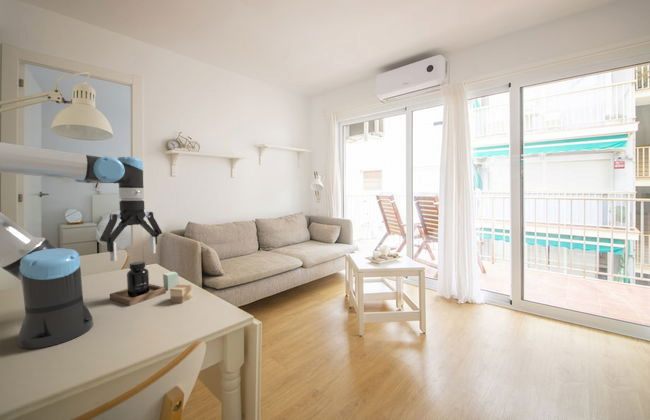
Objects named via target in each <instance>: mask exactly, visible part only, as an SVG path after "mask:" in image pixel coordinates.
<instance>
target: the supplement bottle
mask: <svg viewBox="0 0 650 420" xmlns="http://www.w3.org/2000/svg"><path fill="white" fill-rule="evenodd" d="M149 273H150V272H149V270H148V269H147V268H146V261H135V262H130V263H129V270H128V271H127V273H126V283H127V285H126V286H127V288H126V289H128V296H130V297H137V296H140V295H143V294H146V293H149V284H150V275H149Z"/></svg>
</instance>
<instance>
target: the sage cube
mask: <svg viewBox="0 0 650 420" xmlns="http://www.w3.org/2000/svg"><path fill="white" fill-rule="evenodd" d="M162 279H163V287H164V288H166V291H170V288H172V287H174V286H177V285H179V274H178V272H176V271H169V272H165V273H162Z"/></svg>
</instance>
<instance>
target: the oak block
mask: <svg viewBox="0 0 650 420" xmlns="http://www.w3.org/2000/svg"><path fill="white" fill-rule="evenodd" d="M169 291H170V292H169V294H170V302H171V303H180V304H184V303H185V302H187V301H189V300H190V298H191V299H192V298H193V285H192V284H191V283H190V284H189V283H187V284H186V283H178V285H177V286H174V287H172V288H170V290H169Z"/></svg>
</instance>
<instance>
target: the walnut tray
mask: <svg viewBox="0 0 650 420" xmlns="http://www.w3.org/2000/svg"><path fill="white" fill-rule="evenodd" d="M166 293H167V289H166V288H164V286H160V285H156V284H151V283H149V293H146V294H143V295H140V296H137V297H130V296H128V289H127V288H124V289H122V290H118V291H115V292H112V293H110V294H109V300H111V301H114V302H117V303H120V304H123V305H126V306H129V307H130V306H133V305H136V304H138V303H142V302H144V301H147V300H150V299H153V298H155V297H159V296H160V295H164V294H166Z"/></svg>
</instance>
